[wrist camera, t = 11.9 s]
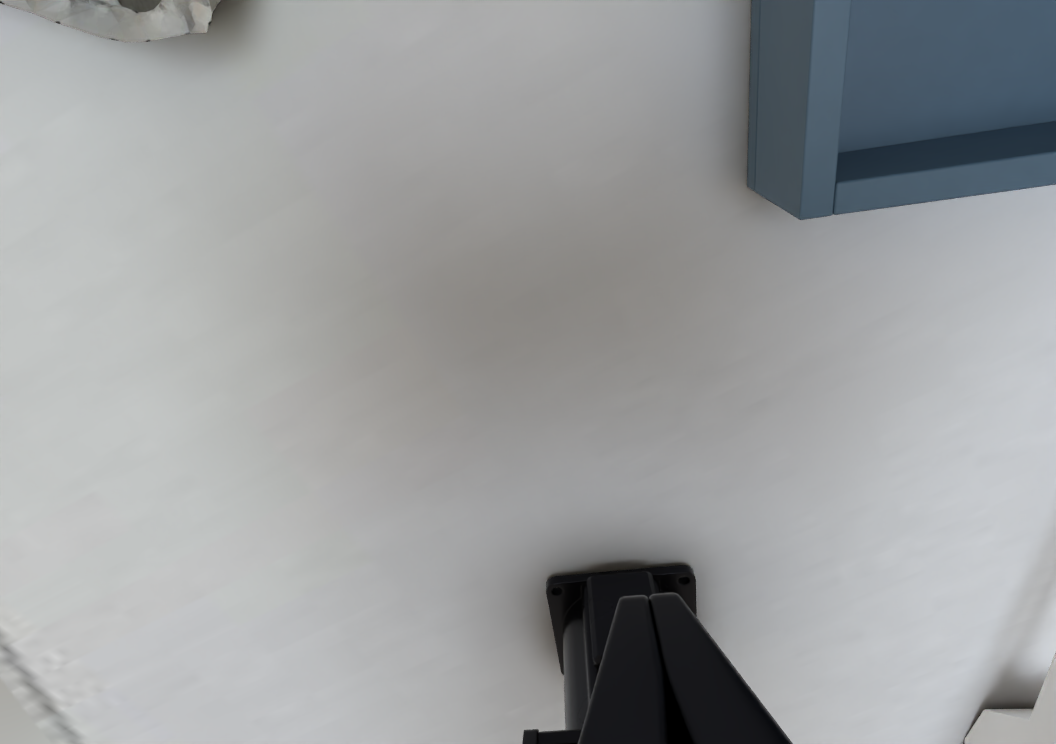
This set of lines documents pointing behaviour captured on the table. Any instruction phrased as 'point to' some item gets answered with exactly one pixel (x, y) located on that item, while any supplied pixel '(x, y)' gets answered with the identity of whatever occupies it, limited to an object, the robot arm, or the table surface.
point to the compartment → (899, 101)
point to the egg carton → (125, 16)
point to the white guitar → (1020, 720)
